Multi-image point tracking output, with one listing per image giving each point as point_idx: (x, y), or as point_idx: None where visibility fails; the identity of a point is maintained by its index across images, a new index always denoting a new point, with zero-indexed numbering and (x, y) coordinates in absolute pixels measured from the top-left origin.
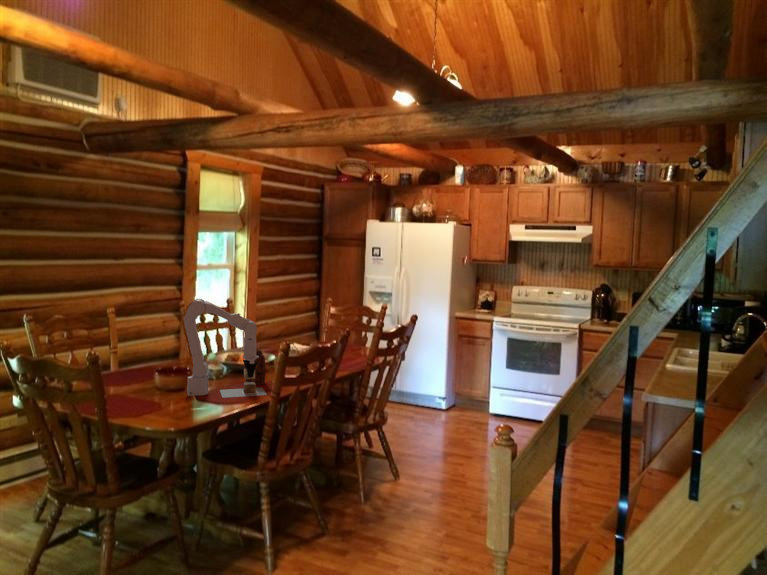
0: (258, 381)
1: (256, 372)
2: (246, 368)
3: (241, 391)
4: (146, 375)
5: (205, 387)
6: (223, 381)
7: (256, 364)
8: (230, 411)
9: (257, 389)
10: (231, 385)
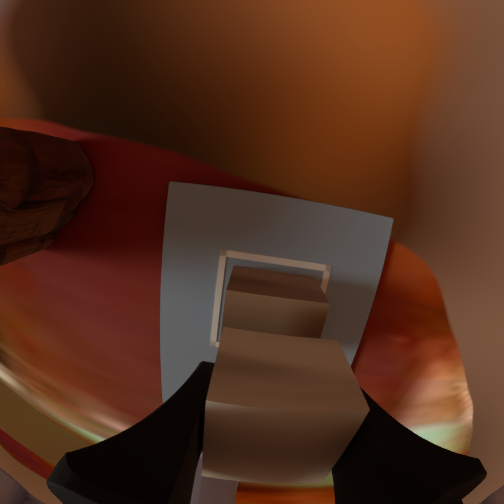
0: (72, 189)
1: (15, 209)
2: (205, 462)
3: None
4: (7, 435)
5: (231, 492)
6: (9, 327)
7: (478, 464)
8: (463, 404)
9: (215, 234)
10: (59, 328)
